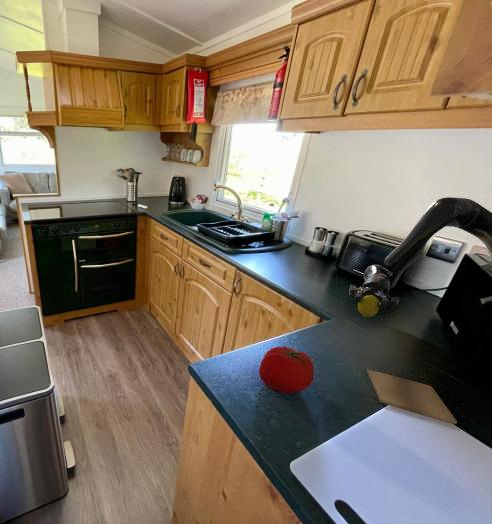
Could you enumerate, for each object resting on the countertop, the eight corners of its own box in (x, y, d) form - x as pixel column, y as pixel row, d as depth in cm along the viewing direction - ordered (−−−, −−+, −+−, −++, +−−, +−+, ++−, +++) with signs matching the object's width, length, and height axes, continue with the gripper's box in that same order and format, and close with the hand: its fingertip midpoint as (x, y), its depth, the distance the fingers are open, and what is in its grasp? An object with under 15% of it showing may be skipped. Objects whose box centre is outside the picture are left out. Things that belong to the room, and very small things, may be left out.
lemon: (351, 314, 96) (358, 293, 94) (360, 311, 99) (367, 290, 96) (369, 322, 92) (377, 300, 89) (378, 319, 94) (386, 297, 91)
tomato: (247, 370, 77) (255, 337, 73) (291, 369, 78) (301, 337, 75) (268, 404, 66) (278, 368, 63) (319, 402, 68) (332, 367, 64)
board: (430, 388, 75) (431, 385, 74) (456, 424, 64) (457, 422, 64) (365, 371, 79) (366, 368, 79) (380, 402, 69) (381, 399, 69)
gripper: (354, 272, 106) (346, 285, 95) (405, 285, 97) (403, 300, 86) (348, 291, 109) (339, 305, 97) (397, 304, 100) (394, 322, 88)
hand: (369, 303), depth 91 cm, fingers closed on lemon, 5 cm apart
